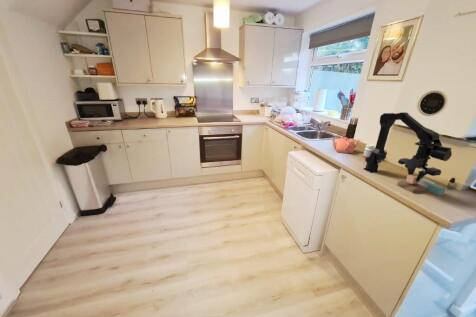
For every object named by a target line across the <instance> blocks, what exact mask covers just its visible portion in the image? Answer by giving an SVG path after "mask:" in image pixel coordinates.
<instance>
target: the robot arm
mask: <svg viewBox="0 0 476 317" xmlns="http://www.w3.org/2000/svg"><path fill="white" fill-rule="evenodd" d="M399 120H400V121H401V122H402V123H404V125H406V126H407V127H408V128H409V129H411V130H412V131H413V132H414V133H415V134H416V137H417V139H418V140H419V141H417V142H414V145H416V146H418V147H417V150H416V153H415V154H414V155H413V156H412V158H408V157H404V158H399V159H398V161H397V163H398V164H400V165H402V166H403V165H404V168H406V170H407V176H408V175H411V174H415V171H416V169H419V170H420V171H418V174H417V175H418V177H417V179H416V182H418V181H419V180H420V179H424V177H425V176H427V175H429V176H431V177H434V176H435V177H436V176H440V175H441V174H442V170H441V169H439V168H436V167H428V166H429V164H428V161H429V160H431V158H433V159H436V160H439V161H443V162H447V161H448V160H450V158H451V157H452V154H453V153H452V148H451V147H449V146H443V144H442V142H441V139H440V134H439V133H438V132H437V131H434V129H431V128H427V127H425V125H423V124H421V123H420V122H419V121H418V120H416V119H415V118H414V117H413V116H411V115H410V114H409V113H408V112H407V111H405V112H403V111H401V112H398V113H397V112H396V113H395V112H389V113H388V112H386V113H382V114H380V116H379V125H380V129H379V132H378V136H377V141H376V143H375V144H376V145H375V146H374V148H373V149H374V150H373V151H372V153H371V155H370V156H369V157H367V158H366V159H364V161H365V162H366V164H365V167H363V170H365V171H367V172H369V173H378V172H379V170H378V169H379V164H381V163H382V162H383V161H385V159H387V154H388V152H386V151H385V148H386V145H387V141H388V138H389V137H388V136H389V134H390V130H391V128H392V126H393V125H394V124H395V123H396V121H399Z"/></svg>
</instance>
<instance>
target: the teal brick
mask: <svg viewBox="0 0 476 317" xmlns="http://www.w3.org/2000/svg"><path fill="white" fill-rule="evenodd" d="M446 190H447V188H445V187H443V186H441V185H438V184H437V183H436V184H429V186H428V188H427V189H426V191H427V192H430V193H432V194H435V195H437V196H443V195H444V194H445V192H446Z"/></svg>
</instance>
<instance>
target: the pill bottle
mask: <svg viewBox="0 0 476 317" xmlns="http://www.w3.org/2000/svg"><path fill="white" fill-rule="evenodd" d="M365 146H366V147H365V148H364V151H363V154H362V159H364V160H365V159H366V158H367V157H369V156H370V155H371V153H372V151H373V150H374V149H375V146H374V144H370V143H369V144H366V145H365Z"/></svg>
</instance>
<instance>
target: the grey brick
mask: <svg viewBox="0 0 476 317" xmlns="http://www.w3.org/2000/svg"><path fill="white" fill-rule="evenodd" d="M418 184H420V185H422V186H424V187H426V188H425V190H427V188H428V186H429V184H436V185H437V182H434V181H432V180H429V179H427V178H421V181H420V183H418Z"/></svg>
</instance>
